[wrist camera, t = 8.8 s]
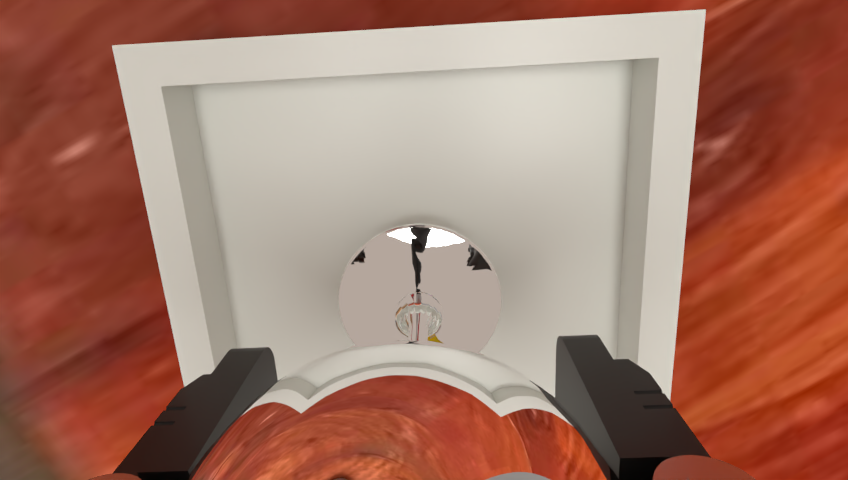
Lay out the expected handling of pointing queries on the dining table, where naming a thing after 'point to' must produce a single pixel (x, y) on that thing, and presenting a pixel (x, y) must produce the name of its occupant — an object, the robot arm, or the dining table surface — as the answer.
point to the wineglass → (409, 385)
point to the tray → (422, 177)
